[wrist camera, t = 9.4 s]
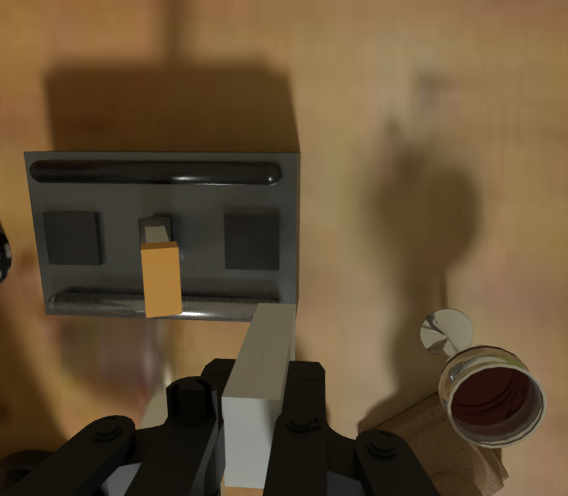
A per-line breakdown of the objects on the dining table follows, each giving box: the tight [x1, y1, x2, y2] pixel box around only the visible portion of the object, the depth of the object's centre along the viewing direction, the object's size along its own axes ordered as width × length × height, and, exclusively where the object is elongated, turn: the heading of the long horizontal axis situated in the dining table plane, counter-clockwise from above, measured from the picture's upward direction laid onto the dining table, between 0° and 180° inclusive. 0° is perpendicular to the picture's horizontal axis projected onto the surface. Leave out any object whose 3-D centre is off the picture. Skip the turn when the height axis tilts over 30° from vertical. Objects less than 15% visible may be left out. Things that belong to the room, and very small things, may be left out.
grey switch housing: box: [24, 151, 301, 322], centre depth 37 cm, size 22×14×8 cm, turn 90°
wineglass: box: [420, 309, 547, 448], centre depth 35 cm, size 7×7×12 cm
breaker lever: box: [138, 216, 182, 318], centre depth 29 cm, size 2×4×11 cm, turn 179°
